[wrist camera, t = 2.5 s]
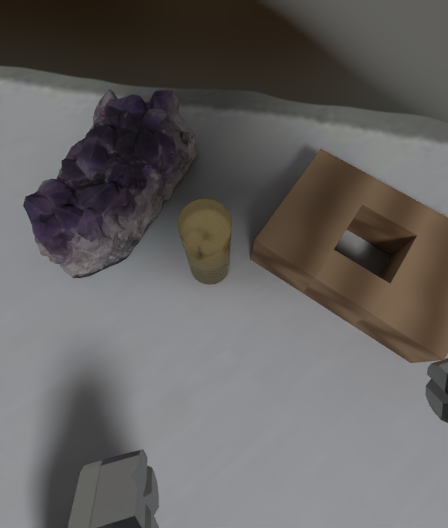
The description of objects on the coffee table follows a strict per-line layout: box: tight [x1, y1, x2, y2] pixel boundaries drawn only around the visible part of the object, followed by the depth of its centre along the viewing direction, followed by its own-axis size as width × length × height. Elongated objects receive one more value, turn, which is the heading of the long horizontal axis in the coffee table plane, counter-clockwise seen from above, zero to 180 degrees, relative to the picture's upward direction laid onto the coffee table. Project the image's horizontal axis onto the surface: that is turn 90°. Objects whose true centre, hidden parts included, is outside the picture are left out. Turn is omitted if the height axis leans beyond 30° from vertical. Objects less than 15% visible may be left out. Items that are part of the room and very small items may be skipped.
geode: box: [24, 90, 197, 278], centre depth 33 cm, size 20×12×10 cm, turn 156°
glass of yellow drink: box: [178, 199, 231, 284], centre depth 30 cm, size 4×4×10 cm
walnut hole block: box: [250, 149, 448, 363], centre depth 32 cm, size 18×12×5 cm, turn 55°
